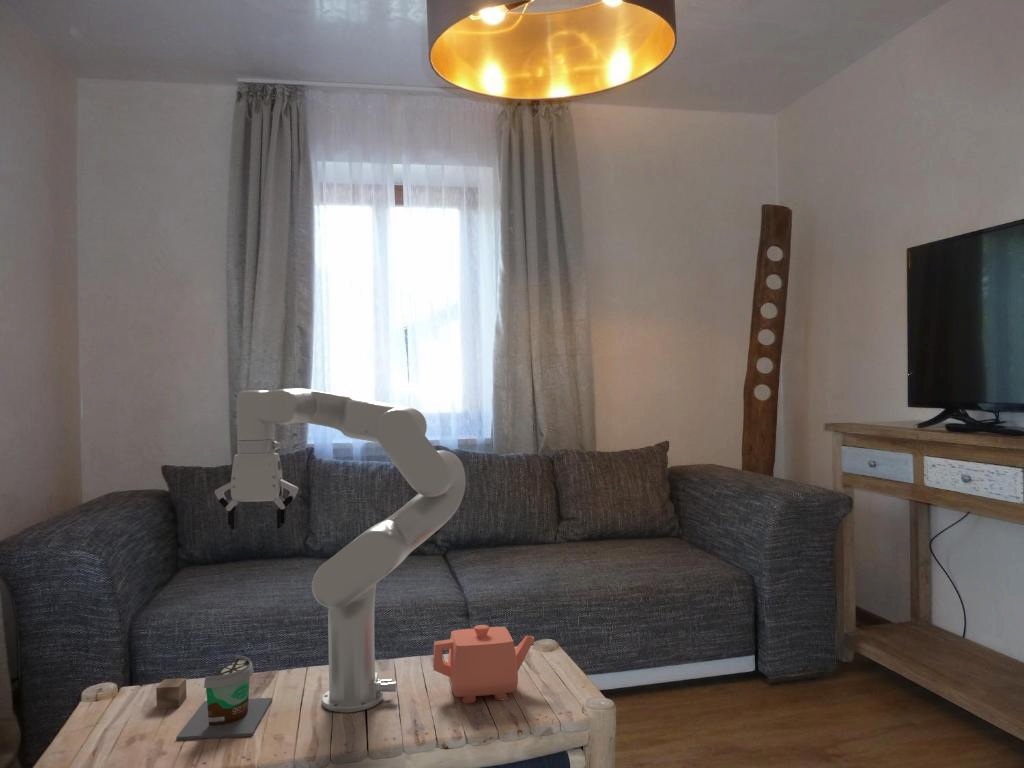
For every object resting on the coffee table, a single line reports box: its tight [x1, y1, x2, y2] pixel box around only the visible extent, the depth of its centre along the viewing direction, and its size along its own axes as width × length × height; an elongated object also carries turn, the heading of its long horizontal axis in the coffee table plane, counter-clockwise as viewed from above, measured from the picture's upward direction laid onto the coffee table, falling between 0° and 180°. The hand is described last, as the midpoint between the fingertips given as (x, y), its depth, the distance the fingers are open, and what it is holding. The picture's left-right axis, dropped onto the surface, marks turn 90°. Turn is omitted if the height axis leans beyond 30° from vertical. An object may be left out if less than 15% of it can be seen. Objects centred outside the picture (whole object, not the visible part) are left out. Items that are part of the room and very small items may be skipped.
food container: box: [203, 654, 254, 726], centre depth 150 cm, size 12×6×10 cm, turn 171°
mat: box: [176, 697, 273, 741], centre depth 149 cm, size 14×16×1 cm
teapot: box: [432, 624, 535, 704], centre depth 161 cm, size 22×13×14 cm, turn 100°
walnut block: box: [155, 677, 187, 710], centre depth 157 cm, size 4×4×4 cm
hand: (257, 527), depth 160 cm, fingers open, 9 cm apart
